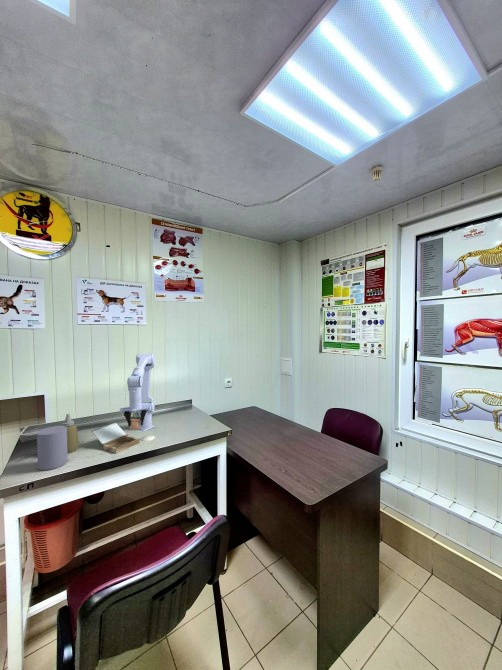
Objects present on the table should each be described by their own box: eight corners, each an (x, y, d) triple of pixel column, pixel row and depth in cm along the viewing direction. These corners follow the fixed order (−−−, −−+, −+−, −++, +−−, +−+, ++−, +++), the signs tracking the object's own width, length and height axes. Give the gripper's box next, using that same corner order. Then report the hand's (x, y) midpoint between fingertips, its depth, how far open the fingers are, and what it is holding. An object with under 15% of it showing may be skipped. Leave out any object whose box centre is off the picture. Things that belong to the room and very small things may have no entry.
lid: (102, 443, 128) (102, 444, 128) (126, 434, 139) (126, 435, 139) (91, 430, 132) (91, 431, 132) (115, 422, 143) (115, 423, 143)
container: (36, 473, 107) (36, 436, 107) (38, 463, 115) (37, 429, 115) (67, 465, 113) (67, 430, 113) (67, 456, 121) (66, 424, 121)
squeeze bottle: (63, 457, 121) (62, 418, 120) (55, 453, 125) (54, 415, 125) (82, 450, 127) (81, 413, 127) (73, 446, 132) (73, 410, 131)
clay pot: (130, 426, 138) (131, 410, 138) (141, 426, 139) (142, 411, 139) (128, 430, 133) (129, 414, 133) (139, 430, 134) (140, 414, 134)
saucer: (137, 440, 139) (137, 439, 139) (148, 435, 145) (148, 434, 145) (147, 442, 136) (147, 441, 136) (157, 437, 142) (157, 436, 142)
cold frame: (97, 448, 129) (97, 438, 129) (123, 438, 142) (123, 429, 142) (116, 454, 123) (116, 444, 123) (141, 442, 136) (141, 433, 135)
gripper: (117, 402, 131) (118, 429, 131) (148, 400, 133) (149, 427, 133) (122, 398, 137) (122, 424, 138) (151, 396, 140) (151, 422, 140)
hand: (135, 425), depth 136 cm, fingers closed on clay pot, 5 cm apart
